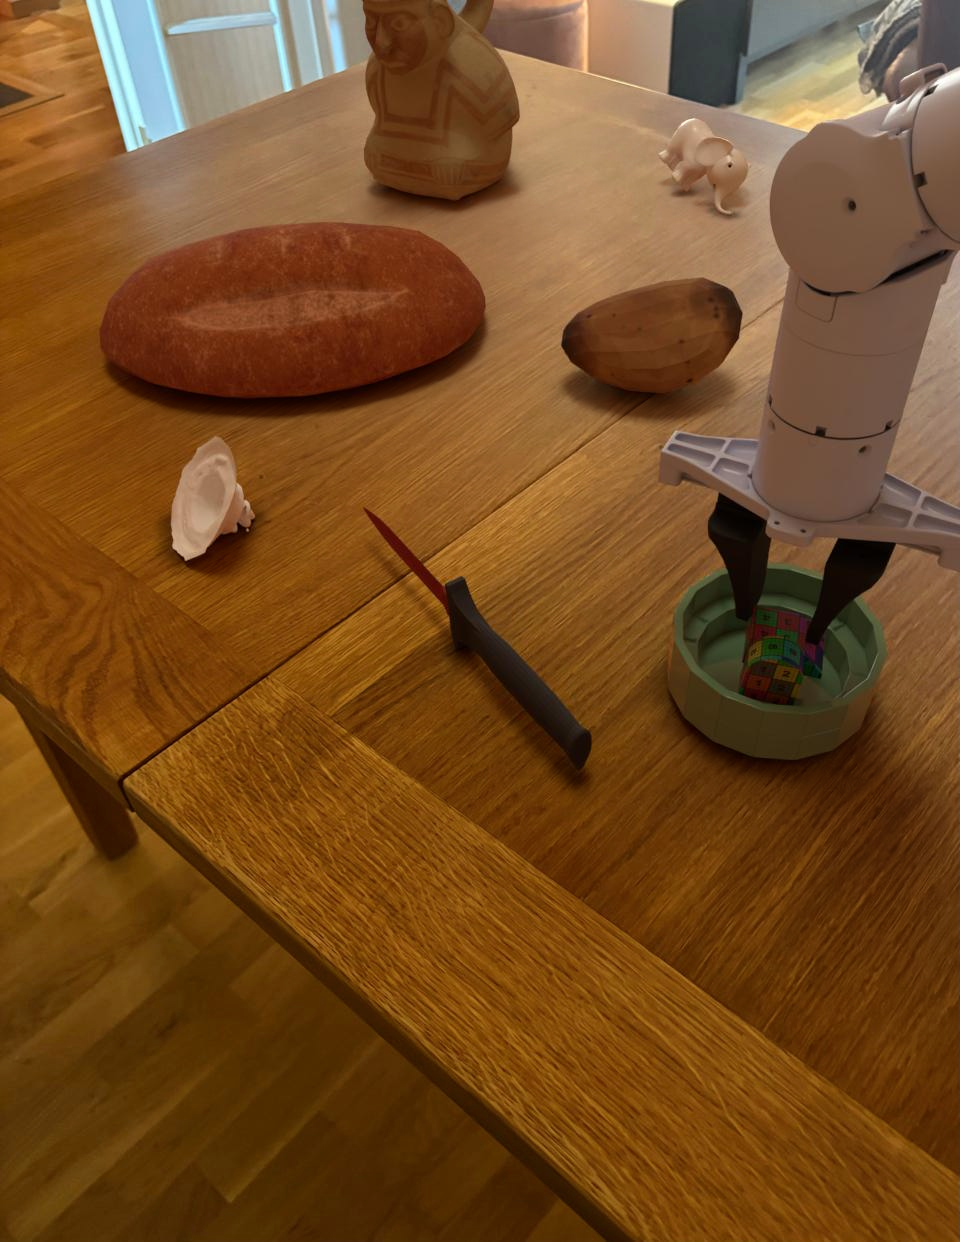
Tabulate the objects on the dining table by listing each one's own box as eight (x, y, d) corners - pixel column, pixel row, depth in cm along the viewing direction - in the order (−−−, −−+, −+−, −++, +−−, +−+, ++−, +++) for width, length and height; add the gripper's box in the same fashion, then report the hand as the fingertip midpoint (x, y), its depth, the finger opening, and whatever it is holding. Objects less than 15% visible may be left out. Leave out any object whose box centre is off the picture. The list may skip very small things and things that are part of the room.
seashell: (246, 577, 72) (275, 545, 65) (168, 573, 70) (190, 539, 63) (245, 469, 74) (273, 426, 66) (169, 461, 71) (190, 416, 64)
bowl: (889, 656, 59) (909, 600, 56) (833, 797, 53) (852, 743, 50) (708, 594, 63) (717, 540, 60) (635, 718, 57) (641, 665, 54)
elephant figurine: (693, 218, 97) (749, 169, 94) (638, 131, 101) (689, 82, 98) (725, 246, 103) (778, 200, 100) (671, 163, 107) (721, 117, 104)
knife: (592, 771, 55) (596, 712, 51) (570, 784, 54) (572, 725, 50) (376, 531, 69) (367, 472, 65) (357, 540, 68) (347, 480, 65)
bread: (506, 389, 80) (503, 283, 74) (91, 437, 78) (51, 332, 71) (468, 255, 96) (463, 158, 89) (121, 292, 93) (91, 195, 87)
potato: (580, 428, 81) (563, 335, 83) (752, 388, 79) (731, 293, 80) (566, 395, 74) (548, 293, 75) (756, 349, 71) (733, 245, 73)
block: (818, 713, 52) (836, 671, 50) (737, 696, 53) (751, 653, 50) (823, 627, 56) (840, 584, 54) (748, 612, 57) (761, 569, 54)
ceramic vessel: (327, 197, 106) (284, -93, 88) (433, 130, 117) (413, -140, 99) (467, 231, 99) (451, -75, 81) (564, 156, 110) (569, -127, 92)
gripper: (641, 406, 45) (623, 622, 55) (992, 502, 39) (902, 722, 49) (701, 329, 49) (674, 543, 59) (1025, 406, 44) (937, 627, 53)
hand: (781, 619), depth 54 cm, fingers closed on block, 3 cm apart
